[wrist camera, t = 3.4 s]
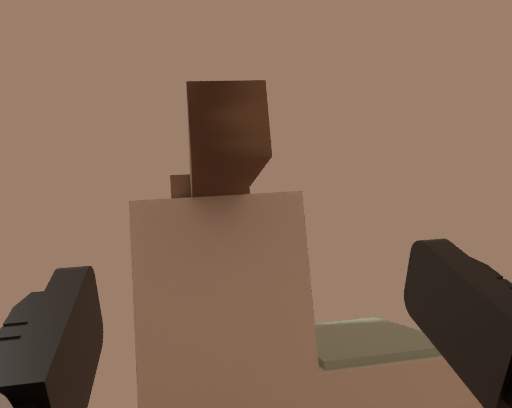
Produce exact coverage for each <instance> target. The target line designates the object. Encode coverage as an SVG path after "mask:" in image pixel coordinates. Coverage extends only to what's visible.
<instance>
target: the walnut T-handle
mask: <svg viewBox="0 0 512 408" xmlns="http://www.w3.org/2000/svg"><path fill="white" fill-rule="evenodd" d="M186 83H187V109H188V132H189V133H188V134H189V157H190V175H171V176H170V180H171V197H172V198H188V197H206V196H223V195H241V194H250V189H249V187H250V186H251V184H252V183H253V182H254V180H255V179H256V177H257V176H258V175H259V173H260V172H261V171H262V169H263V168H264V167H265V165H266V164H267V163H268V161H269V160H270V159H271V157H272V150H271V139H270V128H269V116H268V104H267V93H266V81H265V80H254V81H189V82H186Z"/></svg>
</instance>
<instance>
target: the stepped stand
mask: <svg viewBox="0 0 512 408" xmlns="http://www.w3.org/2000/svg"><path fill="white" fill-rule="evenodd" d="M129 211H130V232H131V256H132V280H133V302H134V327H135V347H136V348H135V350H136V372H137V395H138V408H484V407H483V406H482V405H481V404H480V402H479V401H478V400H477V399H476V397H475V396H474V395H473V394H472V392H471V391H470V390H469V389H468V388H467V386H466V385H465V384H464V383H463V381H462V380H461V379H460V378H459V376H458V375H457V374H456V373H455V371H454V370H453V369H452V368H451V366H450V365H449V364H448V363H447V361H446V360H445V359H444V358H443V356H442V355H441V354H440V353H439V351H438V350H437V349H436V348H435V346H434V345H433V344H432V343H431V341H430V340H429V339H428V338H427V336H426V335H425V334H424V333H423V331H419V330H416V329H413V328H410V327H406V326H403V325H400V324H396V323H393V322H390V321H386V320H383V319H380V318H377V317H374V318H365V319H356V320H347V321H337V322H328V323H320V324H315V322H314V311H313V301H312V290H311V279H310V270H309V259H308V248H307V238H306V227H305V216H304V206H303V196H302V191H293V192H276V193H259V194H241V195H223V196H206V197H188V198H171V199H155V200H136V201H129Z"/></svg>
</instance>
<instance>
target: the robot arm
mask: <svg viewBox="0 0 512 408" xmlns="http://www.w3.org/2000/svg"><path fill="white" fill-rule="evenodd" d="M404 301H405V306H406V309H407V311H408V313H409V315H410V316H411V318H412V319H413V320H414V321H415V323H416V324H417V325H418V326H419V328H420V329H421V330H422V331H423V333H424V334H425V335H426V336H427V338H428V339H429V340H430V341H431V343H432V344H433V345H434V346H435V348H436V349H437V350H438V351H439V353H440V354H441V355H442V356H443V358H444V359H445V360H446V361H447V363H448V364H449V365H450V366H451V368H452V369H453V370H454V371H455V373H456V374H457V375H458V376H459V378H460V379H461V380H462V381H463V383H464V384H465V385H466V386H467V388H468V389H469V390H470V391H471V392H472V394H473V395H474V396H475V397H476V399H477V400H478V401H479V402H480V404H481V405H482V406H483V407H484V408H512V283H510V282H509V281H508V280H506V279H503V277H502V276H501V275H500V274H499V273H497V272H496V271H495V270H493V269H492V268H491V267H489V266H488V265H486V264H484V263H482V262H480V261H478V260H476V259H474V258H471V257H469V256H468V255H467V254H465V253H464V252H462V250H460V249H459V248H458V247H456V246H455V245H454V244H453V243H451V242H450V241H449V240H447V239H435V240H420V241H416V242H415V243H414V244H413V245H412V248H411V252H410V258H409V265H408V271H407V277H406V283H405V289H404ZM102 343H103V322H102V315H101V309H100V304H99V298H98V291H97V286H96V279H95V274H94V270H93V268H92V267H91V266H83V267H71V268H58V269H56V270H55V271H54V274H53V275H52V277H51V279H50V281H49V283H48V285H47V287H46V289H45V291H43V292H42V291H41V292H31V293H30V294H29V295H28V296H26V298H24V299H23V300H22V301H21V302H19V303H18V304H17V305H15V306H14V307H13V308H12V310H11V312H10V314H9V315H8V317H7V319H6V320H5V322H4V323H3V327H2V328H1V329H0V408H87V407H88V403H89V399H90V394H91V390H92V386H93V382H94V378H95V374H96V369H97V365H98V361H99V357H100V353H101V349H102Z"/></svg>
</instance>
